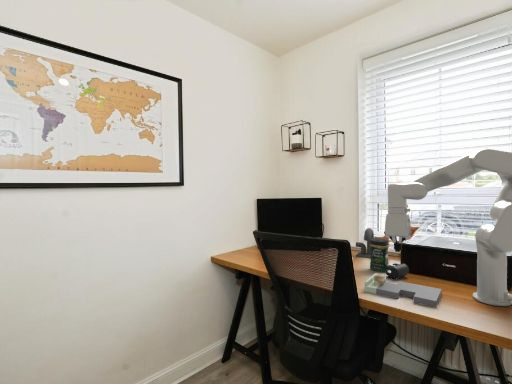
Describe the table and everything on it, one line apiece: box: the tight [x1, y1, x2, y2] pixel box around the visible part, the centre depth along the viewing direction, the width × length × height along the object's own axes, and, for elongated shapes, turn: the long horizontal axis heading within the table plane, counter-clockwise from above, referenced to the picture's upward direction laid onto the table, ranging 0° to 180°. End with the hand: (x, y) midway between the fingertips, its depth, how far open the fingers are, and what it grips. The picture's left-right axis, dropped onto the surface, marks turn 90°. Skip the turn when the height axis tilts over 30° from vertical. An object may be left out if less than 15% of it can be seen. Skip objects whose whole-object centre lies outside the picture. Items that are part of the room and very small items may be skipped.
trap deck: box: [364, 272, 443, 308], centre depth 129 cm, size 28×16×4 cm, turn 51°
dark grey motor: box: [385, 263, 410, 281], centre depth 150 cm, size 10×7×7 cm
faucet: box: [355, 227, 375, 260], centre depth 188 cm, size 18×16×20 cm
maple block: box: [373, 272, 386, 285], centre depth 135 cm, size 4×4×4 cm
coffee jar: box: [369, 236, 390, 273], centre depth 162 cm, size 10×8×19 cm
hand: (397, 251), depth 130 cm, fingers closed
